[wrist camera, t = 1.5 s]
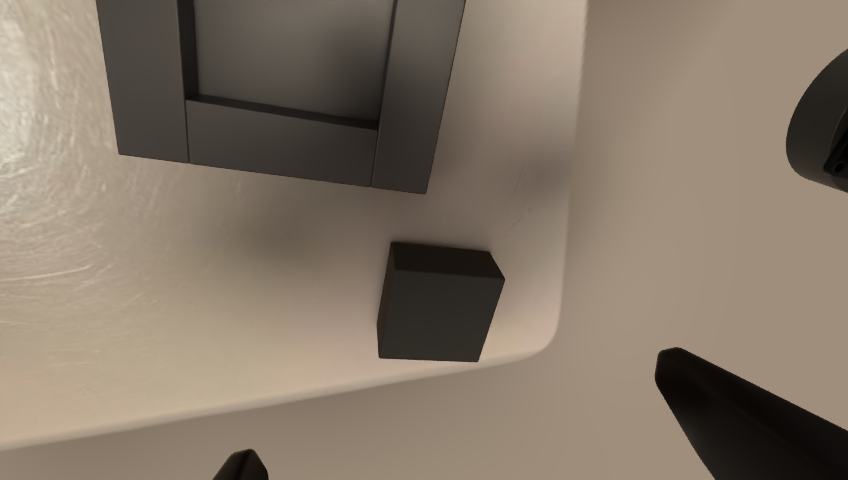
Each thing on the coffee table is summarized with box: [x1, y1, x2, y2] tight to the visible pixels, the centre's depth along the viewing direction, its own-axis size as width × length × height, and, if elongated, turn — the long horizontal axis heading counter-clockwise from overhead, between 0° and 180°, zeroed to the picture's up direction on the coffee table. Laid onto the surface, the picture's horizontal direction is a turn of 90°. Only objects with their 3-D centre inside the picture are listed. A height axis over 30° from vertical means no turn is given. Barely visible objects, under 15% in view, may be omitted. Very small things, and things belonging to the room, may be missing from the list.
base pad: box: [96, 0, 466, 194], centre depth 15 cm, size 12×12×2 cm
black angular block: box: [377, 242, 505, 362], centre depth 22 cm, size 6×6×3 cm
